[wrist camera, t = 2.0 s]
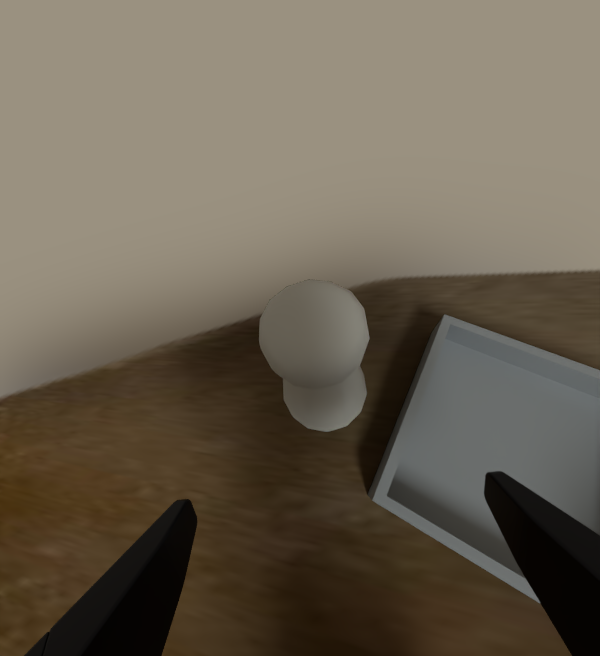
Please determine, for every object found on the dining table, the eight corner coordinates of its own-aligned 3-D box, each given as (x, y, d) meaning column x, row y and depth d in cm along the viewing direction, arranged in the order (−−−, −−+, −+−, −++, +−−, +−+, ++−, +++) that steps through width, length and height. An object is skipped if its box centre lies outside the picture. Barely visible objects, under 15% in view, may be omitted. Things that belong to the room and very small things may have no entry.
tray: (609, 642, 14) (672, 684, 11) (367, 494, 18) (372, 500, 16) (632, 408, 18) (681, 399, 16) (431, 331, 23) (444, 314, 20)
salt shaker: (276, 381, 22) (210, 295, 11) (337, 347, 23) (335, 231, 11) (311, 450, 20) (274, 435, 8) (378, 410, 20) (431, 342, 9)
